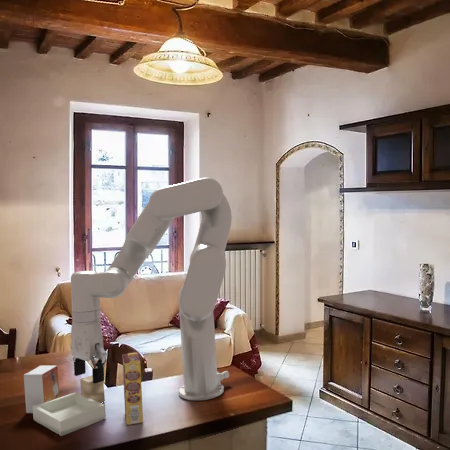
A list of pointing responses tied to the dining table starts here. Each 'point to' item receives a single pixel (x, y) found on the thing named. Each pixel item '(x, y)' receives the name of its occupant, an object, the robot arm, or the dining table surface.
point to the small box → (41, 386)
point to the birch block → (92, 389)
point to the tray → (69, 413)
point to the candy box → (132, 388)
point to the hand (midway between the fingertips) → (89, 378)
